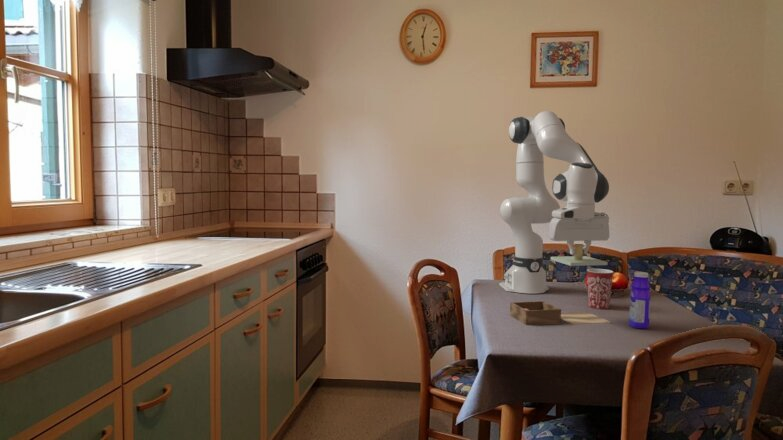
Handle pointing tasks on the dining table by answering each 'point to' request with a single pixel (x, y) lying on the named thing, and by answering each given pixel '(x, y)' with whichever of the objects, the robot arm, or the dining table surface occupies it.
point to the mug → (599, 288)
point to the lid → (578, 258)
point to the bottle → (640, 301)
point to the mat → (582, 318)
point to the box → (535, 312)
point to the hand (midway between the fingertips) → (578, 254)
